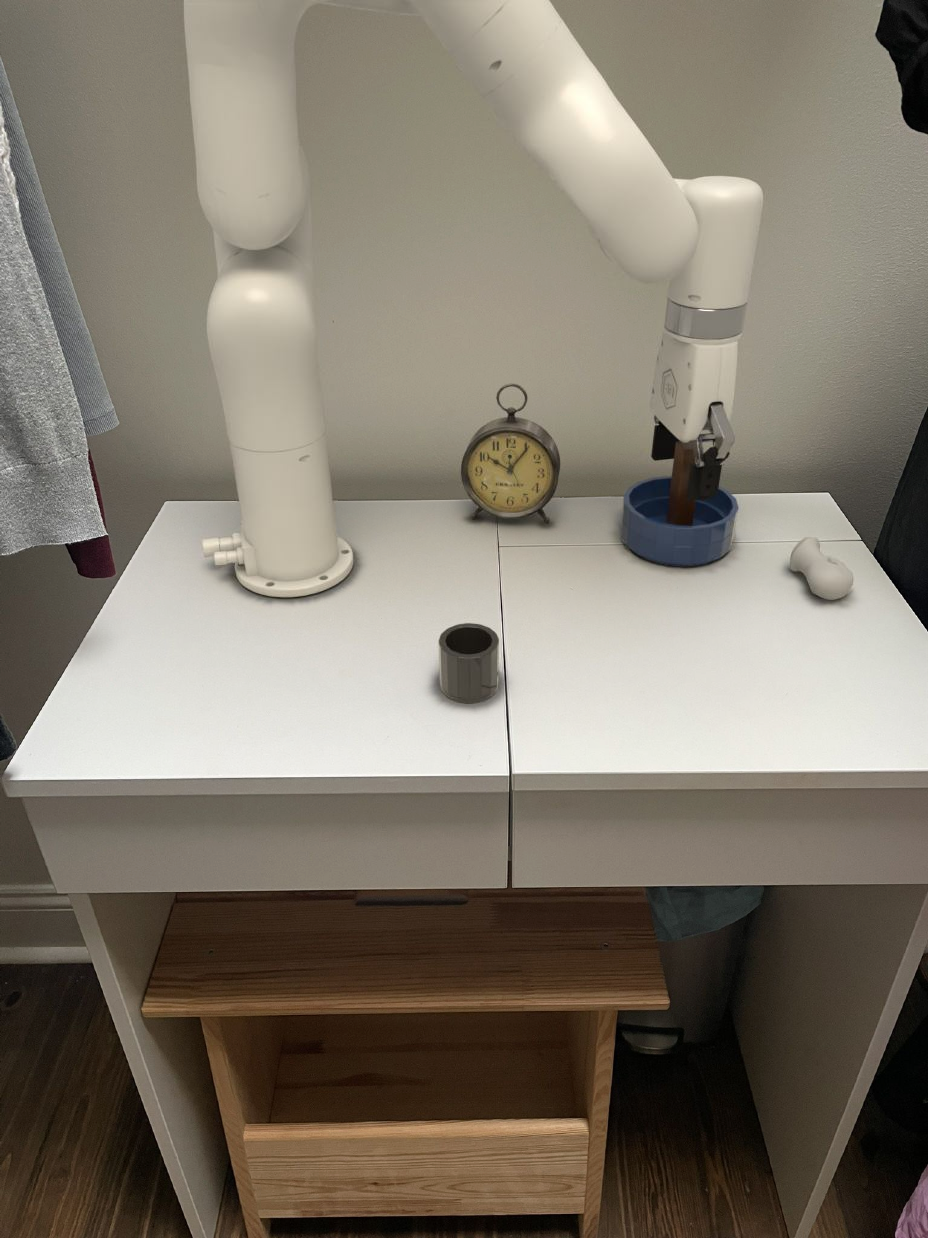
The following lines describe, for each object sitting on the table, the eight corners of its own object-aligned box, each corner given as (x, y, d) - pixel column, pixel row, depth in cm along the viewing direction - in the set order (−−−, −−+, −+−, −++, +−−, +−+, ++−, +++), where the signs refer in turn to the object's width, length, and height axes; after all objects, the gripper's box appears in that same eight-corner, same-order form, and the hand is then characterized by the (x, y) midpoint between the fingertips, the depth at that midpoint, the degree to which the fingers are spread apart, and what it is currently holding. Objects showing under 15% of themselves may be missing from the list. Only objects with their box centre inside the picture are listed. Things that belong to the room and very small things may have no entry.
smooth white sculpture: (851, 614, 96) (808, 605, 94) (817, 571, 102) (777, 562, 101) (873, 579, 93) (829, 569, 92) (837, 537, 100) (796, 528, 98)
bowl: (643, 575, 100) (648, 534, 97) (605, 521, 110) (608, 482, 107) (750, 561, 102) (757, 520, 99) (703, 509, 112) (709, 470, 109)
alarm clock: (460, 524, 109) (458, 390, 100) (468, 502, 114) (467, 372, 105) (555, 531, 108) (562, 395, 99) (559, 509, 112) (566, 376, 103)
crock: (446, 707, 83) (445, 661, 80) (435, 671, 87) (433, 627, 84) (504, 698, 83) (505, 653, 81) (490, 663, 88) (490, 619, 85)
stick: (671, 541, 104) (684, 449, 98) (664, 532, 106) (675, 441, 100) (690, 539, 105) (703, 447, 99) (682, 529, 107) (695, 439, 100)
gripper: (636, 295, 98) (621, 447, 108) (705, 349, 84) (681, 519, 94) (703, 290, 99) (683, 441, 109) (783, 343, 85) (751, 511, 95)
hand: (682, 477), depth 101 cm, fingers open, 9 cm apart
